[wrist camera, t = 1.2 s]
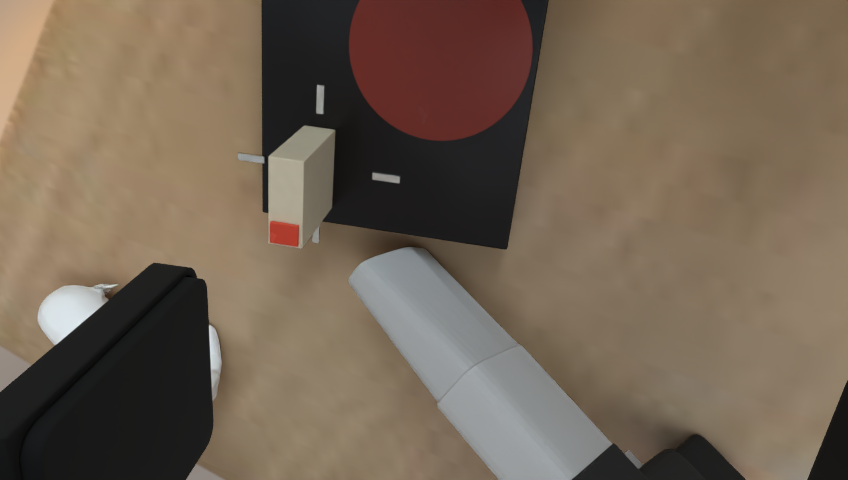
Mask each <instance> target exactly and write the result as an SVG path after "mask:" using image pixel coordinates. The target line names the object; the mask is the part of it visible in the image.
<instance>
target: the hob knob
mask: <svg viewBox="0 0 848 480" xmlns="http://www.w3.org/2000/svg"><path fill="white" fill-rule="evenodd" d="M334 149H335V130H333V129H326V128H319V127H312V126H303V127H302V128H301V129H300V130H298V131H297V132H296V133H295V134H294V135H293V136H292V137H290V138H289V139H288V140H287V141H286V142H285V143H283V144H282V145H281V146H280V147H279V148H278V149H276V150H275V151H274V152H273V153H272V154H271V155H270V156H269V157H268V231H269V244H274V245H281V246H287V247H293V248H300V249H302V248H303V247H304V245H305V244H306V243H307V241H308V240H309V239H310V237H311V236H312V234H313V233H314V232H315V230H316V229H317V228H318V226H319V225H320V223H321V222H322V221H323V219H324V218H325V217H326V215H327V214H328V212H329V211H330V210H331V208H332V196H333V173H334Z"/></svg>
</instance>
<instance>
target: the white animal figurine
mask: <svg viewBox="0 0 848 480" xmlns="http://www.w3.org/2000/svg"><path fill="white" fill-rule="evenodd" d="M106 285H107V286H106ZM116 285H118V284H116ZM116 285H108V284H105V285H103V284H99V285H95V286H94V287H86V286H79V285H69V286H63V287H61V288H59V289H57V290H55V291H54V292H52V293H51V294H49V295H48V296H47V297H46V298H45V300H44V301H43V302H42V304H41V306H40V308H39V311H38V323H39V325H40V327H41V329H42V330H43V332H44V333H45V334H46V336H47V337H48V338H49V339H50V341H51V342H52V343H53V344H54V345H56V344H58V343H59V342H60V341H61V340H62V339H64V338H65V337H66V336H67V335H68V334H69V333H71V332H72V331H73V330H74V329H75V328H76V327H78V326H79V325H80V324H81V323H82V322H84V321H85V320H86V319H87V318H88V317H89V316H91V315H92V314H93V313H94V312H95V311H97V310H98V309H99V308H100V307H101V306H102V305H104V304H105V303H106V302H107V301H108V298H106V297H105V294H106V293H104V292H103V290H106V289H107V288H112V287H113V286H116ZM109 291H111V290H109ZM107 292H108V291H107ZM209 340H210V361H211V382H212V401H213V400H214V399H215V397H216V396H217V388H218V383H219V380H220V373H221V367H222V360H221V351H220V345H219V339H218V335H217V333H216V330H215V329H214V328H213V326H211V325H209Z"/></svg>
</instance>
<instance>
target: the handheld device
mask: <svg viewBox="0 0 848 480" xmlns="http://www.w3.org/2000/svg"><path fill="white" fill-rule="evenodd" d="M349 284H350V286H351V287H352V288H353V290H354V291H355V292H356V294H357V295H358V296H359V298H360V299H361V300H362V302H363V303H364V304H365V306H366V307H367V309H368V310H369V311H370V313H371V314H372V315H373V317H374V318H375V319H376V321H377V322H378V323H379V325H380V326H381V327H382V329H383V330H384V331H385V333H386V334H387V335H388V337H389V338H390V339H391V341H392V342H393V343H394V345H395V346H396V347H397V349H398V350H399V351H400V353H401V354H402V355H403V357H404V358H405V359H406V361H407V362H408V363H409V365H410V366H411V367H412V369H413V370H414V371H415V373H416V374H417V375H418V377H419V378H420V379H421V381H422V382H423V383H424V385H425V386H426V387H427V389H428V390H429V391H430V393H431V394H432V395H433V397H434V398H435V399H436V401H437V402H438V404H437V407H438V408H439V409H440V410H441V411H442V413H443V414H444V415H445V416H446V417H447V419H448V420H449V421H450V422H451V423H452V425H453V426H454V427H455V428H456V429H457V431H458V432H459V433H460V434H461V435H462V436H463V438H464V439H465V440H466V441H467V442H468V444H469V445H470V446H471V447H472V448H473V450H474V451H475V452H476V453H477V454H478V456H479V457H480V458H481V459H482V460H483V462H484V463H485V464H486V465H487V466H488V467H489V469H490V470H491V471H492V472H493V473H494V475H495V476H496V477H497V478H498V479H499V480H746V479H745V478H744V477H743V476H742V475H741V474H740V473H739V472H738V471H737V470H736V469H735V468H734V467H733V466H732V465H731V464H730V463H729V462H728V461H727V460H726V459H725V458H724V457H723V456H722V455H721V454H720V453H719V452H718V451H717V450H716V449H715V448H714V447H713V446H712V445H711V444H710V443H709V442H708V441H707V440H706V439H705V438H703V437H702V436H700V435H698V434H695V435H693V436H691V437H690V438H689V439H688V440H686V441H685V442H684V443H683V444H682V445H681V446H679V447H678V448H677V449H676V450H675V451H674V450H671V449H669V450H664V451H662V452H661V453H659V454H657V455H656V456H654V457H653V458H652V459H651V460H649V461H648V462H647V463H645V464H644V465H642V464H641V463H640V461H639V460H638V459H637V458H636V457H635V456H634V455H633V454H632V453H631V452H630V451H629V450H628V451H626V452H625V453H623V452H622V451H621V450H620V449H619V448H618V447H617V446H616V445H615V444H612V443H611V442H610V441H609V440H608V439H607V437H606V436H605V435H604V434H603V433H602V432H601V431H600V430H599V429H598V428H597V427H596V426H595V424H594V423H593V422H592V421H591V420H590V419H589V418H588V417H587V416H586V415H585V414H584V412H583V411H582V410H581V409H580V408H579V407H578V406H577V405H576V404H575V403H574V402H573V401H572V399H571V398H570V397H569V396H568V395H567V394H566V393H565V392H564V391H563V390H562V389H561V388H560V386H559V385H558V384H557V383H556V382H555V381H554V380H553V379H552V378H551V377H550V376H549V374H548V373H547V372H546V371H545V370H544V369H543V368H542V367H541V366H540V365H539V364H538V363H537V361H536V360H535V359H534V358H533V357H532V356H531V355H530V354H529V353H528V352H527V351H526V350H525V348H524V347H523V346H522V345H518V344H517V343H516V342H515V340H514V339H513V338H512V337H511V336H510V335H509V334H508V333H507V332H506V331H505V330H504V329H503V328H502V327H501V326H500V325H499V324H498V323H497V322H496V321H495V320H494V319H493V318H492V317H491V316H490V315H489V314H488V313H487V312H486V311H485V310H484V309H483V308H482V307H481V306H480V305H479V304H478V303H477V302H476V301H475V300H474V299H473V297H472V296H471V295H470V294H469V293H468V292H467V291H466V290H465V289H464V288H463V287H462V286H461V285H460V284H459V283H458V282H457V281H456V280H455V279H454V278H453V277H452V276H451V275H450V274H449V273H448V272H447V271H446V270H445V269H444V268H443V267H442V266H441V265H440V264H439V263H438V262H437V261H436V260H435V259H434V258H433V257H432V256H431V255H430V253H429V252H428V251H427V250H425V249H423V248H415V247H404V248H400V249H397V250H393V251H390V252H387V253H384V254H381V255H377V256H374V257H372V258H369V259H367V260H365V261H363V262H362V263H361V264H359V265H358V266H357V268H356V269H355V270H354V271H353V273H352V274H351V276H350V277H349Z"/></svg>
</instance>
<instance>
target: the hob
mask: <svg viewBox="0 0 848 480" xmlns="http://www.w3.org/2000/svg"><path fill="white" fill-rule="evenodd" d="M359 1H360V0H262V156H261V155H254V154H247V153H240V152H239V153H238V160H244V161H250V162H257V163H262V165H263V212H266V213H268V157H269V156H270V155H271V154H272V153H273V152H274V151H275V150H276V149H278V148H279V147H280V146H281V145H282V144H283V143H285V142H286V141H287V140H288V139H289V138H290V137H292V136H293V135H294V134H295V133H296V132H297V131H298V130H300V129H301V128H302V127H303V126H312V127H319V128H326V129H333V130H335V149H334V173H333V196H332V208H331V210H330V211H329V212H328V214H327V215H326V217H325V218H324V219H323V221H324V222H330V223H337V224H343V225H350V226H356V227H363V228H369V229H376V230H382V231H389V232H395V233H402V234H408V235H415V236H421V237H428V238H434V239H440V240H447V241H453V242H460V243H466V244H473V245H479V246H486V247H492V248H499V249H507V247H508V241H509V235H510V229H511V223H512V217H513V211H514V205H515V199H516V193H517V187H518V181H519V175H520V169H521V163H522V157H523V151H524V145H525V139H526V133H527V127H528V121H529V115H530V109H531V103H532V97H533V91H534V85H535V79H536V73H537V67H538V61H539V55H540V49H541V43H542V37H543V31H544V25H545V19H546V13H547V7H548V1H549V0H521V1H522V3H523V5H524V7H525V10H526V12H527V15H528V18H529V22H530V26H531V32H532V40H533V53H532V63H531V68H530V72H529V76H528V79H527V81H526V84H525V87H524V89H523V90H522V92H521V94H520V96H519V98H518V99H517V101H516V102H515V104H514V105H513V106H512V108H511V109H510V110H509V111H508V112H507V113H506V114H505V115H504V116H503V117H502V118H501V119H500V120H499V121H497V122H496V123H495V124H494V125H492V126H490V127H489V128H487V129H486V130H484V131H482V132H480V133H477V134H475V135H473V136H469V137H466V138H463V139H457V140H450V141H435V140H427V139H422V138H418V137H415V136H412V135H409V134H407V133H405V132H402V131H400V130H398V129H397V128H395V127H394V126H392V125H390V124H389V123H387V122H386V121H385V120H384V119H383V118H382V117H380V116H379V115H378V114H377V113H376V112H375V110H374V109H373V108H372V107H371V106H370V105H369V103H368V102H367V101H366V99H365V98H364V96H363V94H362V92H361V91H360V89H359V87H358V85H357V82H356V80H355V77H354V74H353V71H352V67H351V62H350V55H349V34H350V27H351V22H352V18H353V15H354V12H355V9H356V7H357V4H358V2H359ZM312 242H314V243H319V242H320V225H319V226H318V228H317V229H316V230H315V232H314V233H313V236H312Z"/></svg>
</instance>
